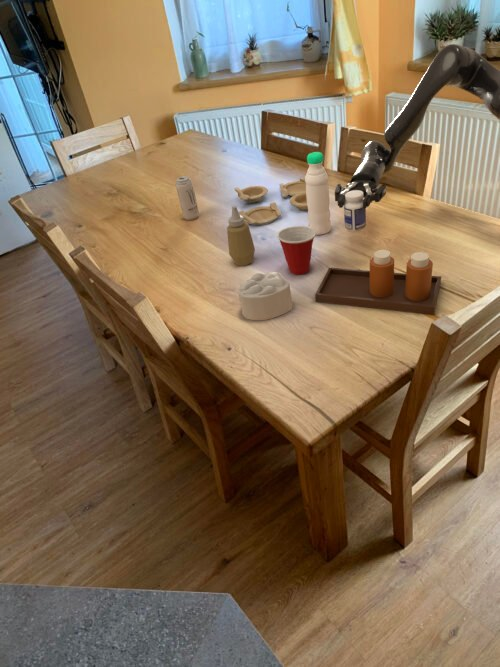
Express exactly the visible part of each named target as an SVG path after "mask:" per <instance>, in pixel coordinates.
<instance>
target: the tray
mask: <svg viewBox="0 0 500 667" xmlns="http://www.w3.org/2000/svg"><path fill="white" fill-rule="evenodd" d="M441 284H442V276H440V275H432V279H431V290H430V296H429V298H428V299H426V300H423V301H414V300H410V299H408V298H407V297H406V295H405V287H406V273H403V272H394V290H393V293H392V294H391V295H389V296H387V297H376V296H373V295H372V294H371V293H370V270H366V269H353V268H340V267H328V269H327V270H326V273H325V275H324V277H323V278H322V280H321V282H320V283H319V286H318V288H317V290H316V292H315V294H314V296H315V297H314V298H315V302H316V303H323V304H324V303H325V304H334V305H342V306H343V305H344V306H352V307H361V308H371V309H378V310H387V311H398V312H405V313H414V314H424V315H425V314H426V315H433V316H434V315H435V312H436V307H437V302H438V298H439V293H440V288H441Z"/></svg>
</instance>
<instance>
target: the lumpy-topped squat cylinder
mask: <svg viewBox="0 0 500 667" xmlns="http://www.w3.org/2000/svg"><path fill="white" fill-rule="evenodd" d="M238 298H239V303H240V308H241V313H242V316H243V317H244V318H245V319H247V320H251V321H267V320H272V319H274V318H277V317H280V316H282V315H284V314H286V313H287V314H288V312H290V311H291V310H292V309H293V300H292V292H291V285H290V282H289V281H288V280H287V279H285V277H284V276H283V274H281V273H280V272H279V271H269V272H265V273H261V272H256V273H254V274H252V276H251V277H250V278H249V279H247V280H246V281H245V282H243V283H242V284H241V285H240V287H239V289H238Z"/></svg>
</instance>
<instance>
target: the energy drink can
mask: <svg viewBox="0 0 500 667" xmlns="http://www.w3.org/2000/svg"><path fill="white" fill-rule="evenodd" d="M175 180H176V182H175V188H176V193H177V196H178V200H179V204H180V208H181V214H182V216H183V218H184V219H185V221H194V220H197V219H198V218H199V215H200V210H199V206H198V202H197V196H196V193H195V189H194V184H193V181H192V179H191V178H190V176H189V175H182V176H179V177H177V178H176V179H175Z"/></svg>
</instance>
